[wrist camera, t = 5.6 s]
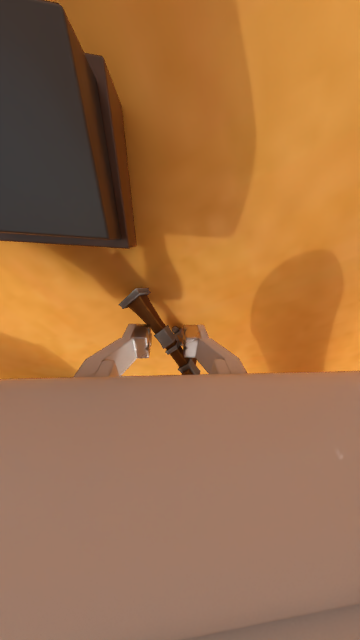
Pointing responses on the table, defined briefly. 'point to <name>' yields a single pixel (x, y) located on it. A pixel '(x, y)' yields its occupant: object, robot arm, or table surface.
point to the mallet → (59, 135)
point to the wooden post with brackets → (160, 329)
